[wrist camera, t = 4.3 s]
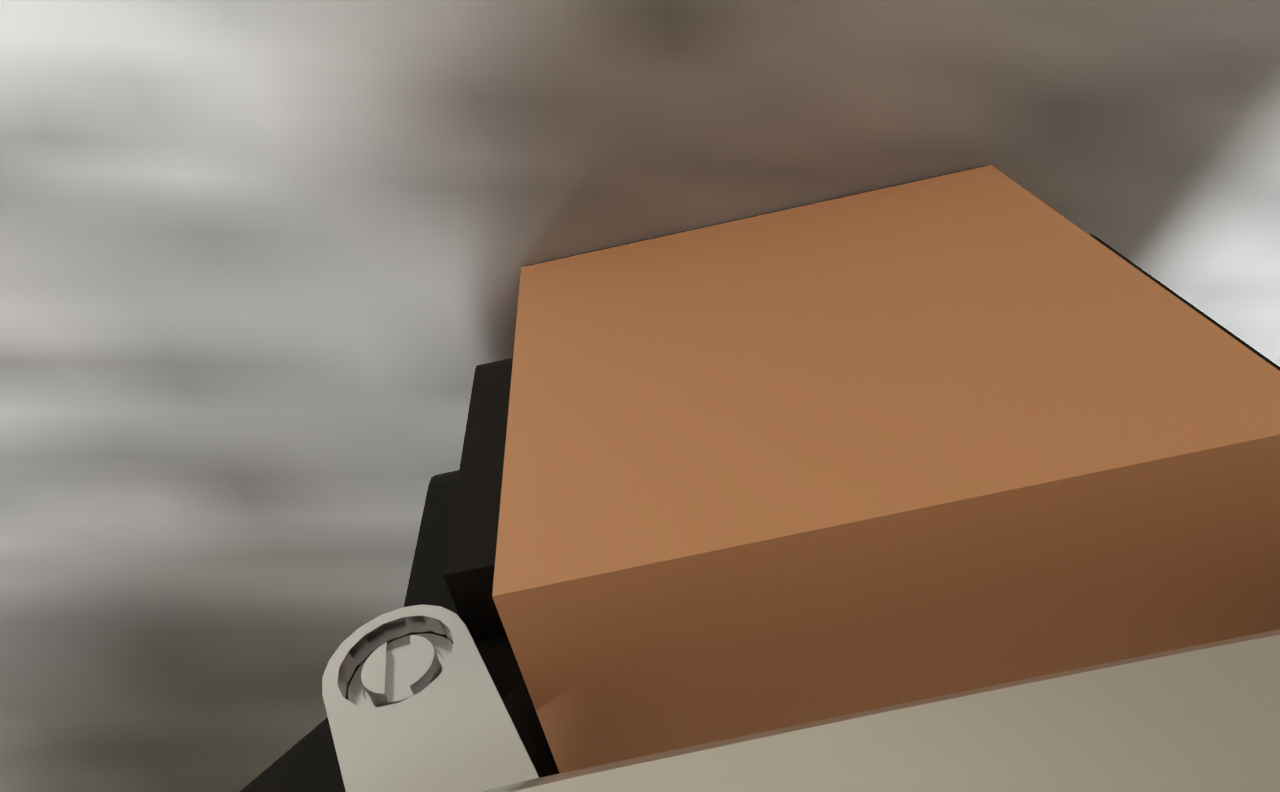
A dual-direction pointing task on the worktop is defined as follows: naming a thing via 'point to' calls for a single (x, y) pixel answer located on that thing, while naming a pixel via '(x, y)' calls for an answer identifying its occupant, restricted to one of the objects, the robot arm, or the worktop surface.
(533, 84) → the worktop surface
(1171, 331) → the stub
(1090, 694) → the robot arm
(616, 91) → the worktop surface
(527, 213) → the worktop surface
